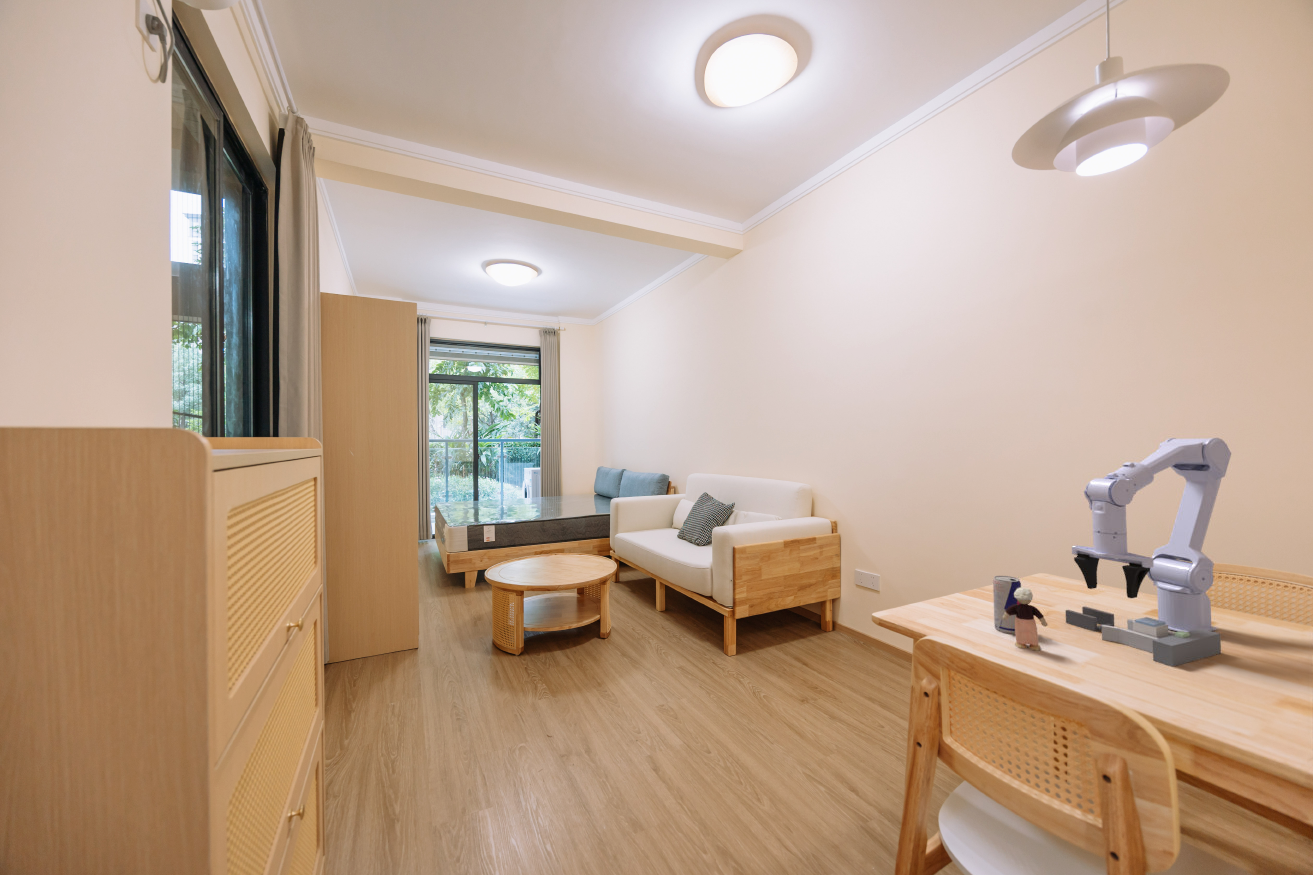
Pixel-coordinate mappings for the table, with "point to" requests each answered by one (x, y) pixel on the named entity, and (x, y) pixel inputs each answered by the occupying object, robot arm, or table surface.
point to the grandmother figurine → (1025, 619)
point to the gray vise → (1090, 618)
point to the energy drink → (1004, 602)
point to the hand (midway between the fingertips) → (1111, 592)
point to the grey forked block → (1168, 643)
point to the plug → (1151, 627)
